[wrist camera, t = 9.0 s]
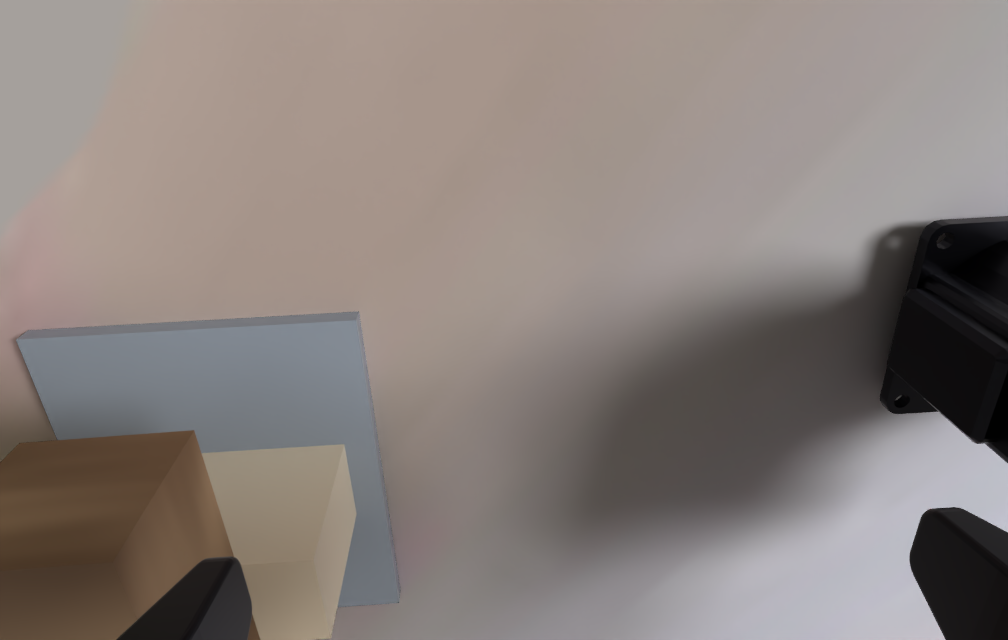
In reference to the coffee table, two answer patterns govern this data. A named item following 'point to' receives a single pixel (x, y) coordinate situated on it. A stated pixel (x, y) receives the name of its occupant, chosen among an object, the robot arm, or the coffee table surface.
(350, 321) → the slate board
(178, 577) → the walnut rod
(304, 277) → the coffee table surface
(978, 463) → the coffee table surface
